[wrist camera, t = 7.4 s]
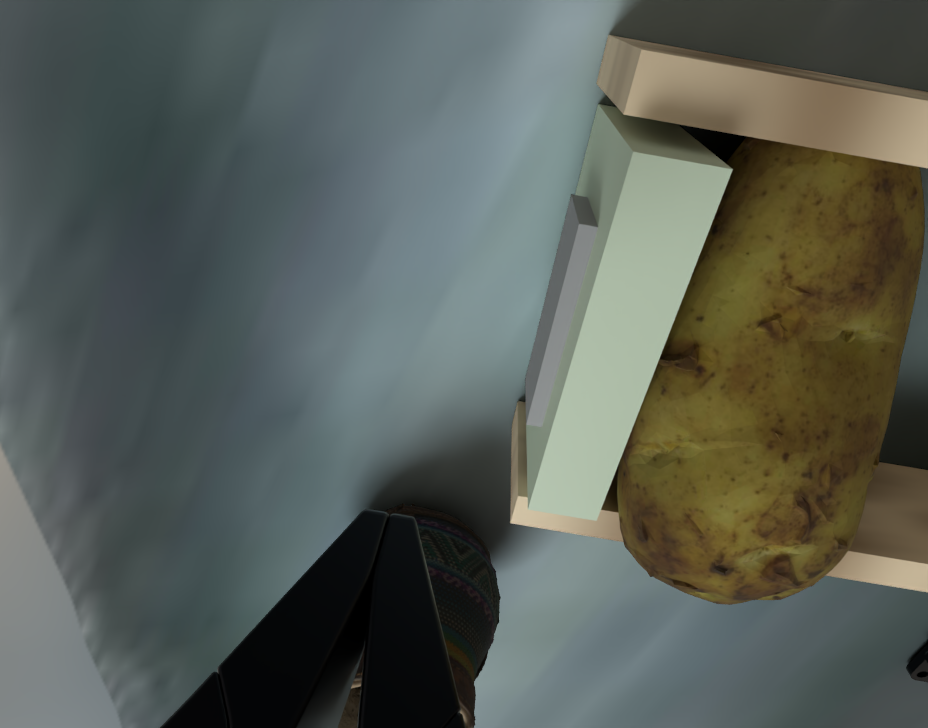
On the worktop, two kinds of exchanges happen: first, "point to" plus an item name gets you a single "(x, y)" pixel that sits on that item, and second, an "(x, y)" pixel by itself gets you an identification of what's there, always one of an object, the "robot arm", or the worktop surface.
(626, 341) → the pale green block
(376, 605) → the robot arm
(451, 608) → the mate gourd
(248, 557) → the worktop surface
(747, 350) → the potato
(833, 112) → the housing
